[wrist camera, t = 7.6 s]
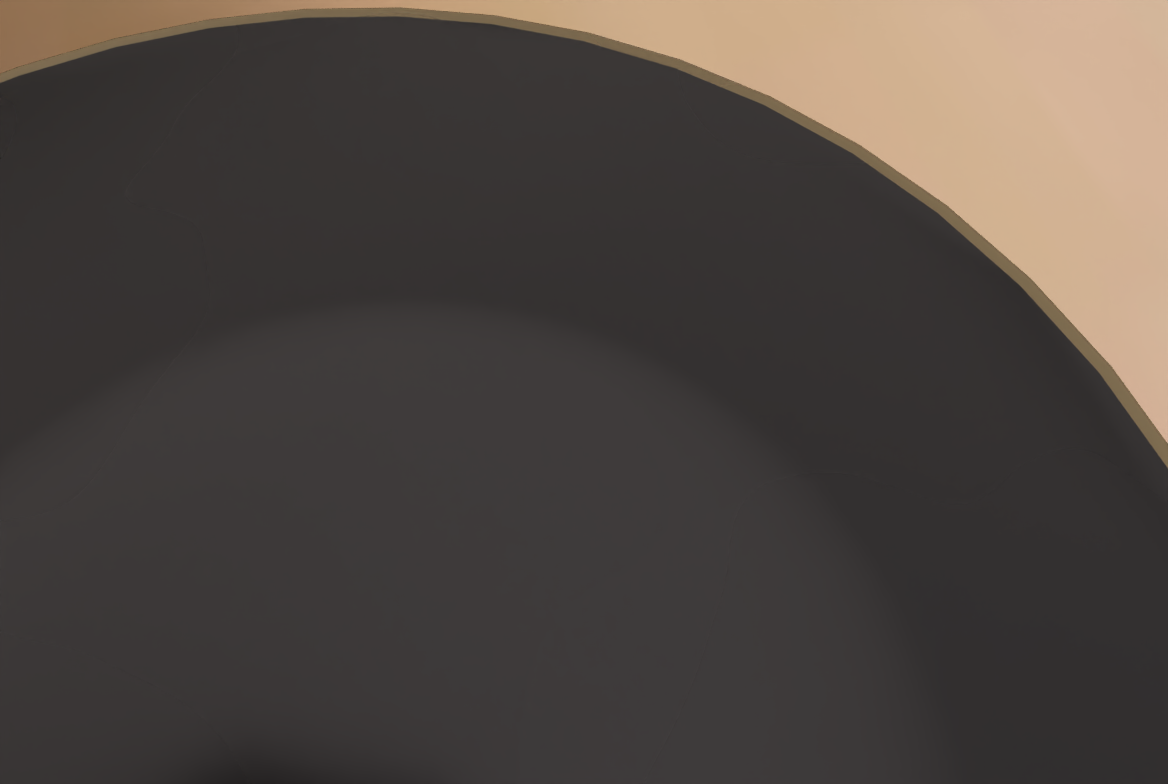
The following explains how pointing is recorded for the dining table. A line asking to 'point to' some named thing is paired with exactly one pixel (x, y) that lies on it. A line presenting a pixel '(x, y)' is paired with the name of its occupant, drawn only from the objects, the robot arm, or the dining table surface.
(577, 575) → the tea tin
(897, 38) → the dining table surface
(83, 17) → the dining table surface
